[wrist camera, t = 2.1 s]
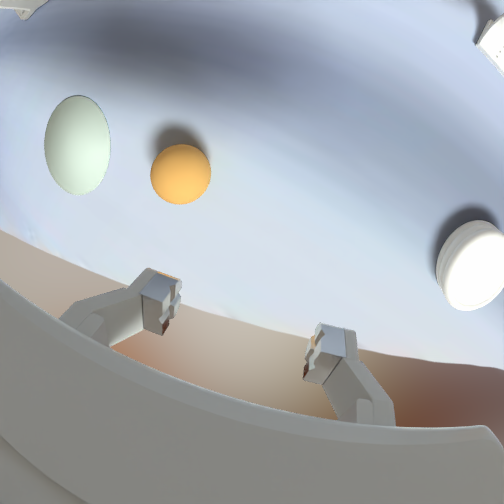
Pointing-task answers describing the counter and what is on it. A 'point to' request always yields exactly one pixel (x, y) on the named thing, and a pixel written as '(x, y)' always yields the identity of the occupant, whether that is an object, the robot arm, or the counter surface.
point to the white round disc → (471, 265)
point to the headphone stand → (493, 43)
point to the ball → (180, 174)
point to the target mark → (77, 145)
